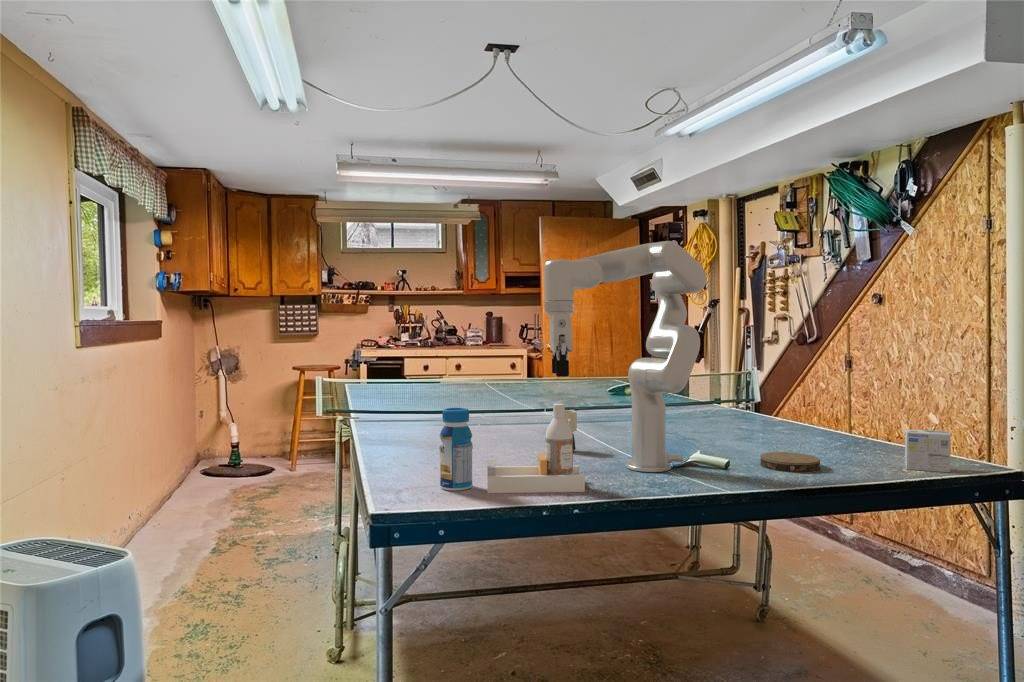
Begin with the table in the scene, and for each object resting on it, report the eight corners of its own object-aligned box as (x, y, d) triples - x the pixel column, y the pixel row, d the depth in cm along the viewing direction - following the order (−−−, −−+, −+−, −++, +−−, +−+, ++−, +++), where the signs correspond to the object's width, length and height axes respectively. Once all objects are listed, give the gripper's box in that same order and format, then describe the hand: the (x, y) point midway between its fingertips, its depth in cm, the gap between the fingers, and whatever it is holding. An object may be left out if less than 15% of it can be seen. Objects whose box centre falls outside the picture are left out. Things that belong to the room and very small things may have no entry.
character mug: (550, 448, 220) (550, 409, 219) (571, 447, 221) (571, 409, 221) (559, 455, 209) (559, 414, 209) (581, 454, 211) (581, 413, 210)
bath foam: (556, 486, 164) (556, 406, 164) (540, 481, 170) (540, 403, 170) (578, 483, 168) (578, 404, 168) (561, 477, 174) (561, 402, 173)
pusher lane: (578, 480, 175) (578, 457, 175) (584, 491, 163) (584, 467, 163) (487, 481, 175) (487, 458, 174) (487, 493, 163) (487, 468, 162)
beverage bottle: (468, 492, 163) (468, 411, 163) (435, 490, 165) (434, 411, 164) (476, 484, 172) (475, 407, 171) (444, 482, 173) (444, 406, 173)
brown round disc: (756, 460, 200) (756, 451, 200) (812, 463, 197) (812, 453, 197) (765, 472, 185) (765, 461, 185) (826, 474, 182) (826, 464, 181)
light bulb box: (947, 468, 188) (947, 430, 187) (951, 473, 182) (951, 434, 181) (903, 465, 192) (904, 428, 192) (906, 469, 186) (906, 431, 186)
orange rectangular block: (544, 477, 173) (544, 453, 173) (546, 485, 165) (546, 460, 164) (538, 477, 173) (538, 453, 173) (540, 485, 165) (540, 460, 164)
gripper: (578, 307, 161) (579, 377, 162) (569, 308, 178) (570, 371, 179) (547, 308, 161) (549, 378, 161) (541, 309, 178) (542, 372, 179)
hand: (560, 374), depth 170 cm, fingers open, 9 cm apart
